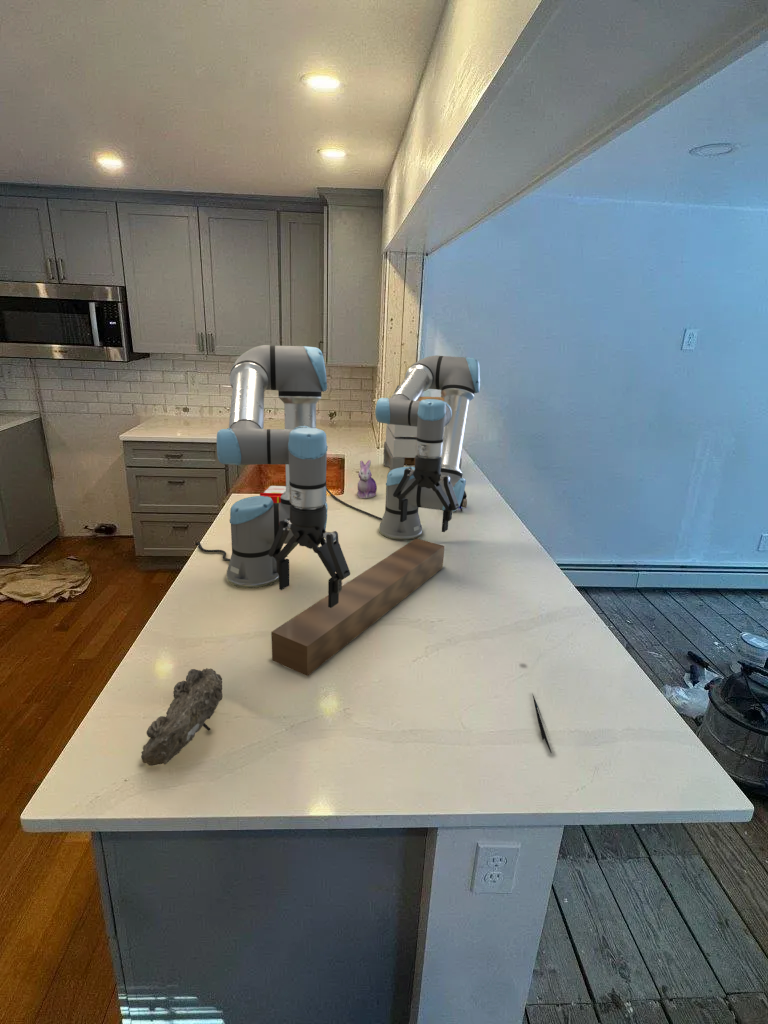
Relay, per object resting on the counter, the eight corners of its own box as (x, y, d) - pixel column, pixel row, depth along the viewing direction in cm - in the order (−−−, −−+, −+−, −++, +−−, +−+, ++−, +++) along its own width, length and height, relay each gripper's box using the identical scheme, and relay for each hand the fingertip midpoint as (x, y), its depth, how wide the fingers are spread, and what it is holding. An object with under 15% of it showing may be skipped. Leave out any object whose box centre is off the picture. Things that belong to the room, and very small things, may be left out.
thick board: (414, 559, 180) (415, 538, 177) (442, 567, 175) (444, 545, 173) (272, 660, 126) (271, 631, 123) (307, 676, 121) (307, 646, 119)
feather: (523, 669, 129) (529, 663, 128) (551, 758, 102) (558, 750, 101) (517, 665, 128) (523, 659, 128) (543, 753, 102) (550, 746, 101)
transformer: (382, 463, 289) (386, 382, 275) (445, 464, 293) (451, 384, 279) (390, 482, 257) (394, 392, 243) (460, 483, 261) (468, 394, 247)
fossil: (171, 669, 114) (224, 637, 109) (205, 700, 117) (257, 670, 112) (115, 759, 95) (175, 724, 90) (157, 793, 97) (218, 762, 92)
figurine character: (467, 516, 223) (461, 500, 237) (469, 499, 220) (463, 483, 233) (450, 516, 223) (446, 499, 236) (452, 498, 220) (447, 483, 233)
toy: (300, 481, 221) (289, 494, 192) (300, 514, 224) (289, 533, 194) (268, 480, 221) (253, 493, 191) (269, 514, 223) (254, 532, 194)
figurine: (361, 500, 232) (362, 464, 227) (351, 492, 241) (352, 458, 236) (382, 497, 237) (383, 462, 232) (371, 490, 245) (372, 456, 240)
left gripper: (250, 496, 120) (253, 586, 127) (347, 522, 108) (345, 620, 115) (274, 488, 126) (276, 574, 133) (368, 512, 114) (365, 605, 121)
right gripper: (383, 451, 163) (380, 520, 170) (464, 465, 151) (457, 539, 158) (396, 446, 169) (393, 513, 176) (475, 460, 157) (467, 531, 164)
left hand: (308, 596), depth 124 cm, fingers open, 13 cm apart
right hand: (423, 525), depth 167 cm, fingers open, 13 cm apart
